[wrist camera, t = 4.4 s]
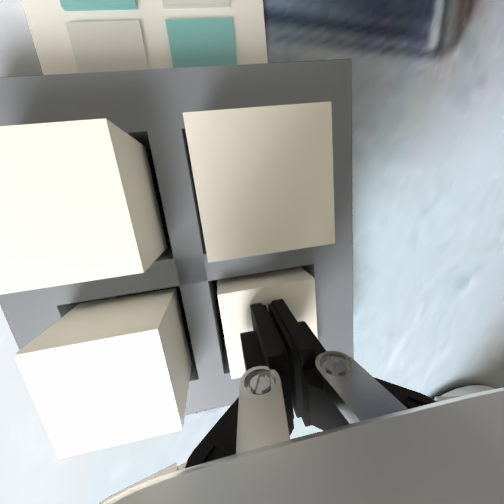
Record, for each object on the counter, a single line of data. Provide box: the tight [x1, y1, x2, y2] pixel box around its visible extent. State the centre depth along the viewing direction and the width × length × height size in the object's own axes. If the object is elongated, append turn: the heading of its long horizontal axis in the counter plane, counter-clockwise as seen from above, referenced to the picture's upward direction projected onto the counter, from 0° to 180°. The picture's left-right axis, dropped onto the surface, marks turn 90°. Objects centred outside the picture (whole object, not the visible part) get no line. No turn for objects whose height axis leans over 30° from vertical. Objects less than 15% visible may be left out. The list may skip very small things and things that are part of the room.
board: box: [0, 0, 353, 415], centre depth 12 cm, size 17×24×4 cm
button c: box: [183, 101, 335, 263], centre depth 10 cm, size 5×5×4 cm
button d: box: [0, 118, 167, 295], centre depth 9 cm, size 5×5×4 cm
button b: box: [13, 288, 192, 459], centre depth 11 cm, size 5×5×4 cm
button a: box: [217, 266, 318, 379], centre depth 14 cm, size 5×5×4 cm
